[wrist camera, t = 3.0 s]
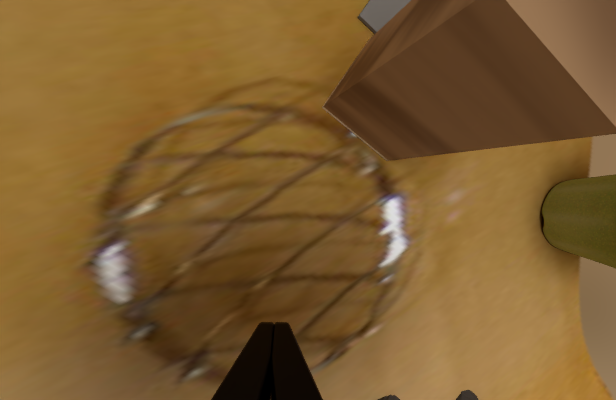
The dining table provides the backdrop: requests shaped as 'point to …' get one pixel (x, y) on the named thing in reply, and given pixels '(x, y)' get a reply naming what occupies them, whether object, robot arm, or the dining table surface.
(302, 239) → the dining table surface
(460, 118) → the walnut block
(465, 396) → the cloth
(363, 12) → the rubber mat
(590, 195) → the plant pot
